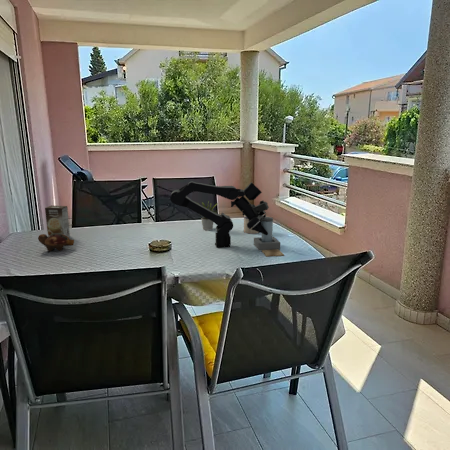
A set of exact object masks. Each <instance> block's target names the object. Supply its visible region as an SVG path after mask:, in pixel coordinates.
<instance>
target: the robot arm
mask: <svg viewBox="0 0 450 450" xmlns="http://www.w3.org/2000/svg"><path fill="white" fill-rule="evenodd" d="M193 192H199V193H203V194H204V193H205V194H209V195H210V194H211V195H215V196H216V195H217V196H219V197H222V198H223V199H224V198H225V199H227V200H230V207H231V208H233V207H236V208H237V209H238V210H239V211H240V212H241V213H242V214H241V215H242V216H243V217H244V215H245V216H246V217H247V218H248V219H249V222H248V223H247V227H248V228H249V229H251V228H252V227H253V228H252V229H251V230H255V231H257V232H259V234H261V235H262V234H265V235H268V232H267V231H266V229H265V228H264V227H263V225H262V217H267V213H266V211H267V210H269V205H268V204H269V203H268V202H267V201H264V200H261V201H259V204H257V205H255V204H254V203H253V204H251V202H250V201H255V199H257V198H258V197H259V196H260V195H261V194H262V193H263V192H262V190H260V188H259V187H257V186H256V185H255V183H253V182H252V181H251V182H250V183H249V184H248V185H247V186H246V187H245V188H244V189H240V188H237V187H236V186H234V185H219V186H218V185H213V184H208V183H201V182H195V181H189V182H188V183H187V184H185V185H184V186H182V187H180V188H179V189H174V190H172V192H171V194H170V198H169V199H170V202H171V203H172V204H173V205H176V206H179V207H183V208H187V209H189V210H190V211H192V212H195V213H196V214H198V215H199V216H202V217H205V218H207V219H209V220H211V221H213V224H215V225H216V226H215V230H216V232H215V242H214V245H215V247H216V248H231V243H232V241H231V239H232V238H231V235H230V232H231V231H232V230H233V228H234V223H233V220H232V218H231V216H230V215H226V214H225V213H224V212H221V213H215V212H212V211H211V210H209V208H208V209H207V208H205V207H206V206H205V207H203V204H200V203H199V202H197V201H194V200H192V199H191V198H190V197H188V196H189V195H190V194H191V193H193ZM196 202H197V203H196ZM198 203H199V204H198Z"/></svg>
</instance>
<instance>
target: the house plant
mask: <svg viewBox="0 0 450 450" xmlns="http://www.w3.org/2000/svg"><path fill="white" fill-rule="evenodd" d="M195 202H196V203H198V204H200V203H199V202H197V201H195ZM209 202H210V200H208V202H207V203H209ZM218 204H219V203H218V202H217V203H216V204H214V205H212V203H209V204H205V203H204V202H201V205H202V206H203V207H205V208H207V209H209V210H211V211H212V212H214V213H216V214H218V213H217V211H216V210H213V209H214V208H215V207H216V206H217V205H218ZM206 205H207V206H206ZM200 220H201V226H202V230H204V231H212V230H213V228H214V222H213V221H211V220H209V219H207V218H205V217H203V216H202V217H201V218H200Z"/></svg>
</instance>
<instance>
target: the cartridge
mask: <svg viewBox="0 0 450 450" xmlns="http://www.w3.org/2000/svg"><path fill="white" fill-rule="evenodd" d="M273 223H274V218H273V217H271V216H266V217H262V225H263V227H264V228H265V229H266V231H267V232H268V235H265V234H262V233H261V237H262V239H261V242H272V237H273V226H274V225H273Z"/></svg>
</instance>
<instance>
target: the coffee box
mask: <svg viewBox="0 0 450 450" xmlns="http://www.w3.org/2000/svg"><path fill="white" fill-rule="evenodd" d="M44 211H45V220H46V229H47V230H46V231H47V236H48V237H49V236H50V235H51V234H54V233H61V234H64V235H66V236H68V238H70V236H71V233H70V222H69V211H68V205H49V206H46V207H44Z"/></svg>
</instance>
